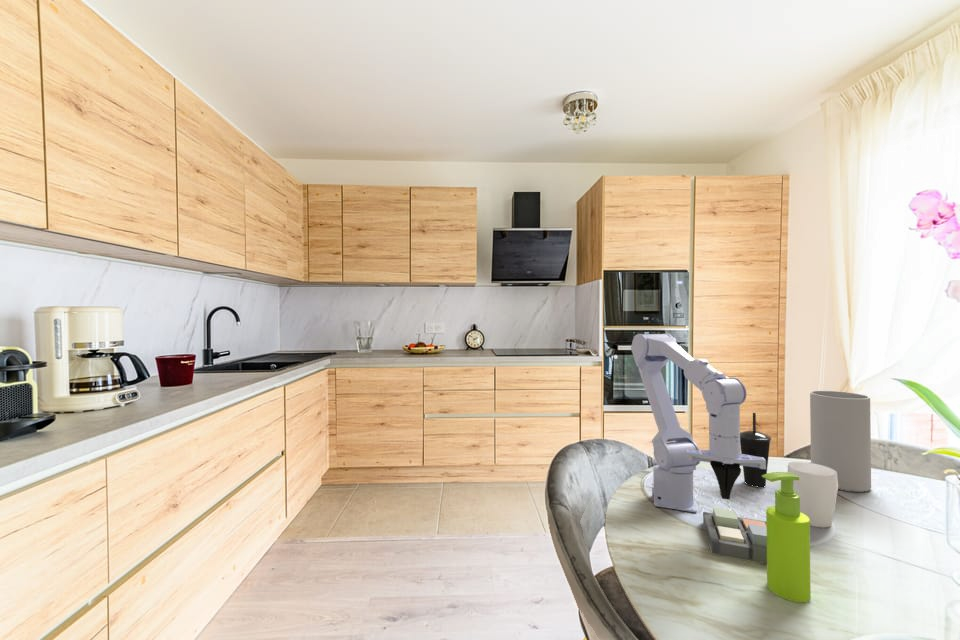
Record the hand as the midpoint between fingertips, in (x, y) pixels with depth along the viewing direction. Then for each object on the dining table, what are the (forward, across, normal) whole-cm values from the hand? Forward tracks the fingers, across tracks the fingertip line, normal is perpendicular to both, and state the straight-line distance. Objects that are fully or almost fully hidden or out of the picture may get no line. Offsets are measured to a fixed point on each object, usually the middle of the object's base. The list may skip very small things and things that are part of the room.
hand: (725, 497), depth 86 cm
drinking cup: (+8, +12, +33) cm, 36 cm away
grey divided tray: (+8, +3, -3) cm, 9 cm away
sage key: (+6, 0, 0) cm, 6 cm away
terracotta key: (+7, +6, 0) cm, 9 cm away
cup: (+8, +20, +14) cm, 25 cm away
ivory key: (+7, 0, -6) cm, 9 cm away
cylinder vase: (+8, +34, +42) cm, 55 cm away
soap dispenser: (+8, +6, -17) cm, 20 cm away
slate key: (+6, +6, -5) cm, 10 cm away
